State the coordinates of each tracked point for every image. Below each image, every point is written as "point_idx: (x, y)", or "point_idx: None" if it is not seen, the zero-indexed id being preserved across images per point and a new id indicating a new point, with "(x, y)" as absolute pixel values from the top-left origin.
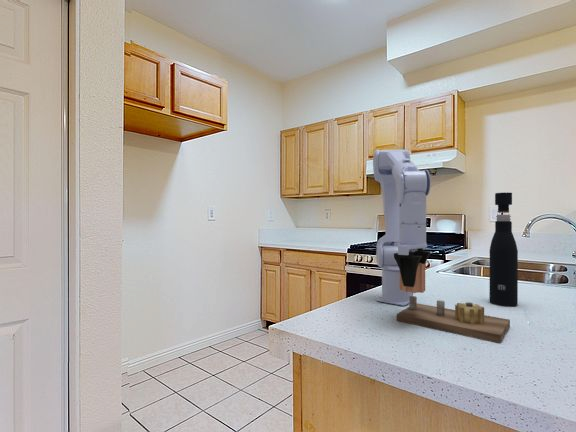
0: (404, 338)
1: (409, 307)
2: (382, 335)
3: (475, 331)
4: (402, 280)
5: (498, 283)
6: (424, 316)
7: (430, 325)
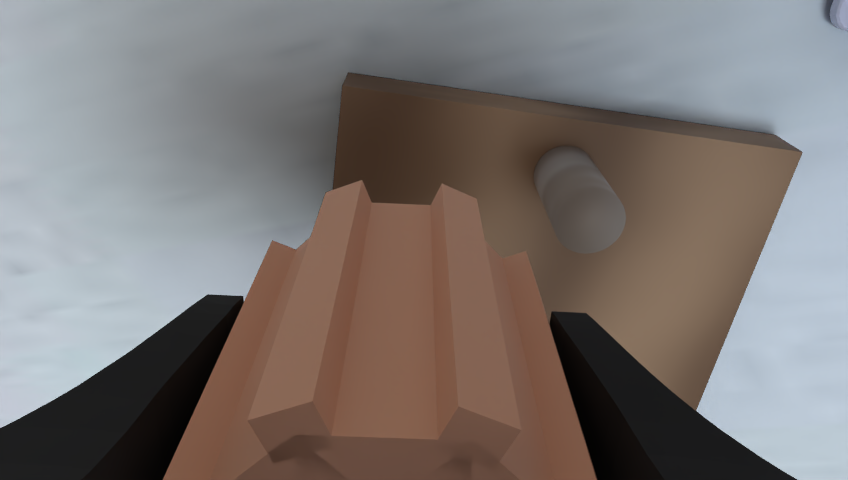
0: (12, 211)
1: (556, 153)
2: None
3: None
4: (172, 323)
5: None
6: None
7: None
